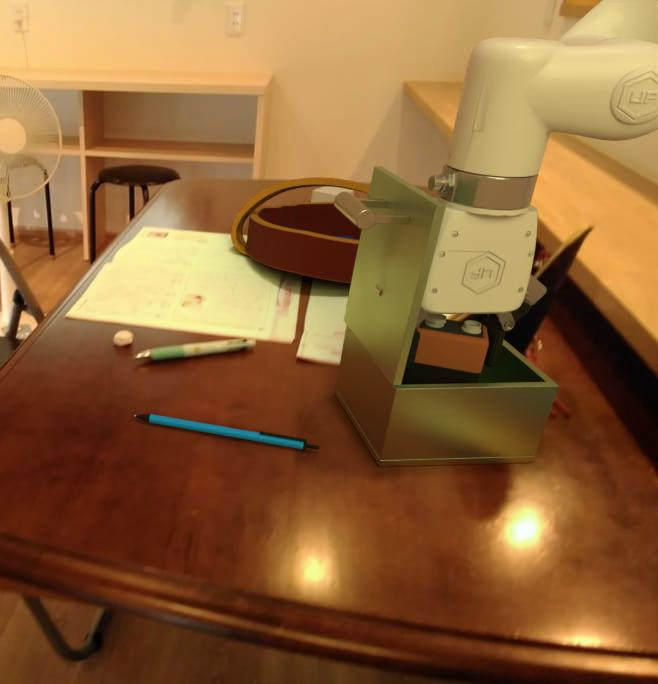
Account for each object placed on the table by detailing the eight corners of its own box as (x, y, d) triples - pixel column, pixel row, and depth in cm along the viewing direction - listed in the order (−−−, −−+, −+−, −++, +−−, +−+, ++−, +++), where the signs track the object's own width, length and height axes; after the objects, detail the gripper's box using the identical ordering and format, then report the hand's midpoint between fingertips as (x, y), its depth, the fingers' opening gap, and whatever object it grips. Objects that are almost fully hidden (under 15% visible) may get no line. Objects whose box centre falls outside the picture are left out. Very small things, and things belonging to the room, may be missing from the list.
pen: (318, 454, 68) (319, 444, 67) (133, 421, 72) (133, 412, 72) (318, 448, 69) (320, 439, 68) (135, 416, 73) (135, 407, 72)
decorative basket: (450, 280, 117) (473, 191, 112) (402, 311, 94) (427, 201, 89) (270, 241, 135) (283, 163, 130) (193, 260, 112) (204, 166, 107)
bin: (465, 391, 80) (484, 322, 76) (533, 462, 68) (559, 385, 64) (334, 393, 78) (346, 324, 74) (378, 467, 66) (396, 388, 62)
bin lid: (381, 166, 67) (325, 164, 66) (446, 205, 55) (378, 203, 54) (350, 320, 74) (300, 319, 74) (401, 384, 62) (341, 384, 62)
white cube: (349, 219, 140) (354, 190, 137) (335, 226, 136) (339, 196, 133) (323, 213, 143) (327, 185, 141) (308, 219, 139) (312, 190, 137)
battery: (399, 389, 75) (417, 305, 70) (466, 402, 73) (490, 316, 68) (396, 409, 71) (416, 321, 67) (467, 423, 69) (492, 334, 64)
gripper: (409, 200, 57) (373, 381, 65) (606, 200, 59) (547, 378, 67) (375, 178, 64) (346, 345, 72) (553, 178, 65) (505, 343, 73)
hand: (443, 360), depth 69 cm, fingers closed on battery, 7 cm apart
